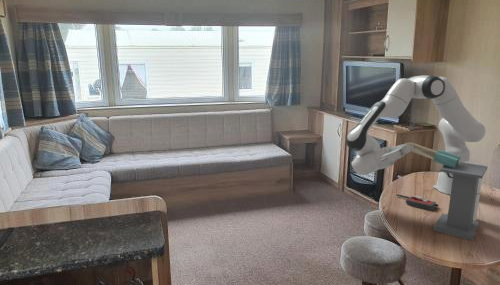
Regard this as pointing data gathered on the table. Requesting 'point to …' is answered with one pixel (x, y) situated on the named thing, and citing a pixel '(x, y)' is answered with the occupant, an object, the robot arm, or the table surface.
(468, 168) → the stand
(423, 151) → the tan and teal block
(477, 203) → the cylindrical container
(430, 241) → the table surface
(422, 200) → the walkie-talkie
